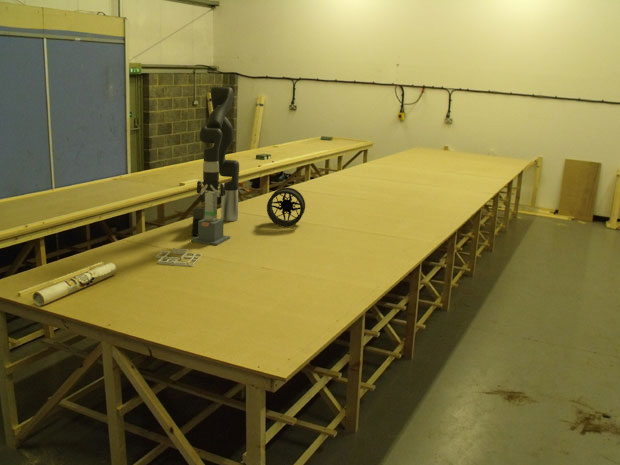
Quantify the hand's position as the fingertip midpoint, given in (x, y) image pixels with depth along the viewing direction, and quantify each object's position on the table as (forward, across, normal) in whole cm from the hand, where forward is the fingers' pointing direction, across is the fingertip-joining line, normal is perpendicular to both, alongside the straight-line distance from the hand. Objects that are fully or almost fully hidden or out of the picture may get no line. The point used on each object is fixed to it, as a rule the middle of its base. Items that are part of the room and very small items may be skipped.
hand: (210, 203), depth 297 cm
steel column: (+11, 0, 0) cm, 11 cm away
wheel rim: (+19, -22, -45) cm, 53 cm away
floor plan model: (+19, +2, +32) cm, 38 cm away
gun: (+19, +14, -16) cm, 29 cm away
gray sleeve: (+19, 0, 0) cm, 19 cm away
